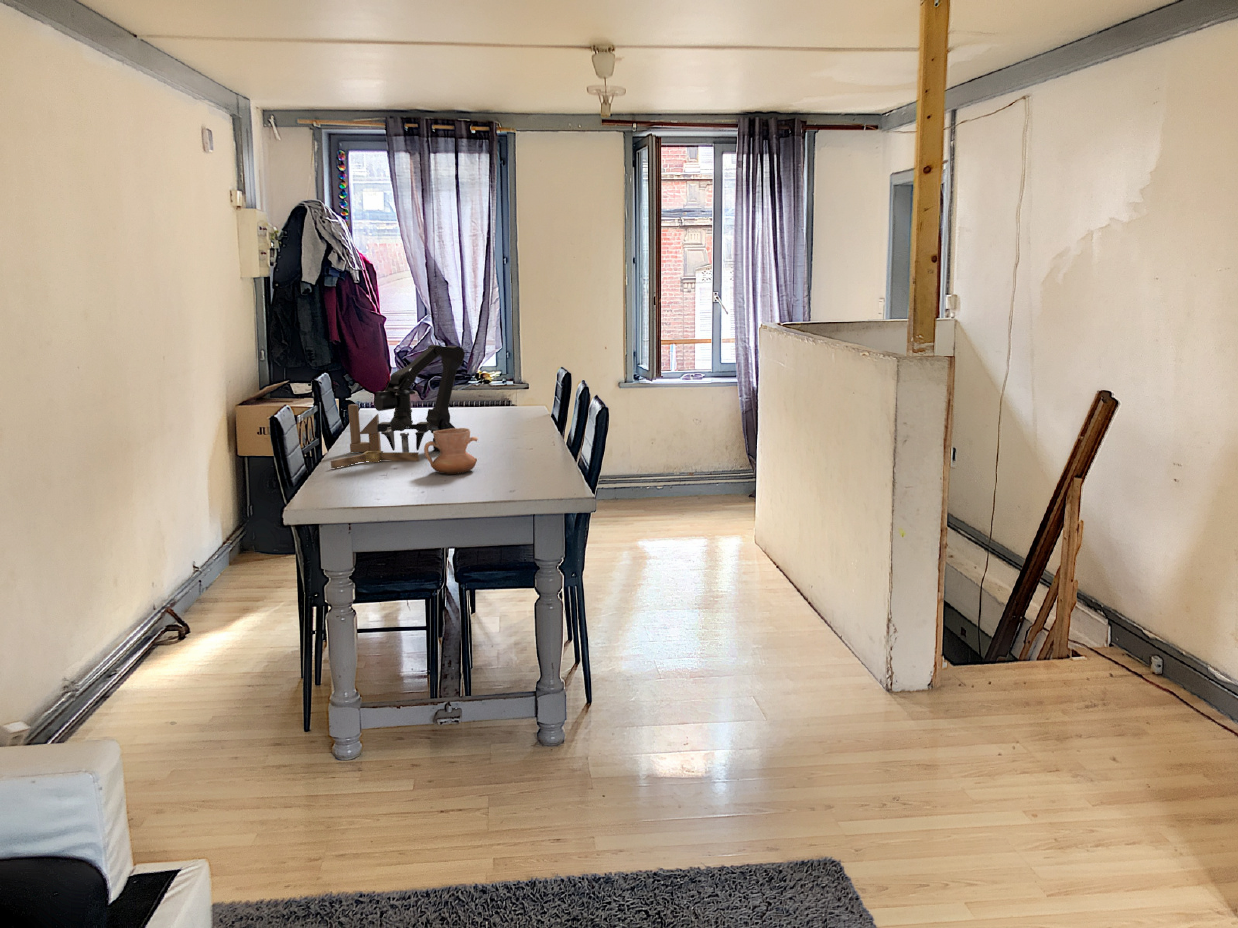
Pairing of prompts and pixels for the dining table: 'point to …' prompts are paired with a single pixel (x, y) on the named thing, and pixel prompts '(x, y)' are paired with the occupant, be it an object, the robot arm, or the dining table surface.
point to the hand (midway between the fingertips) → (405, 450)
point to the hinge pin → (405, 442)
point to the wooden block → (363, 432)
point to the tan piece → (376, 457)
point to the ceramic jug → (451, 451)
